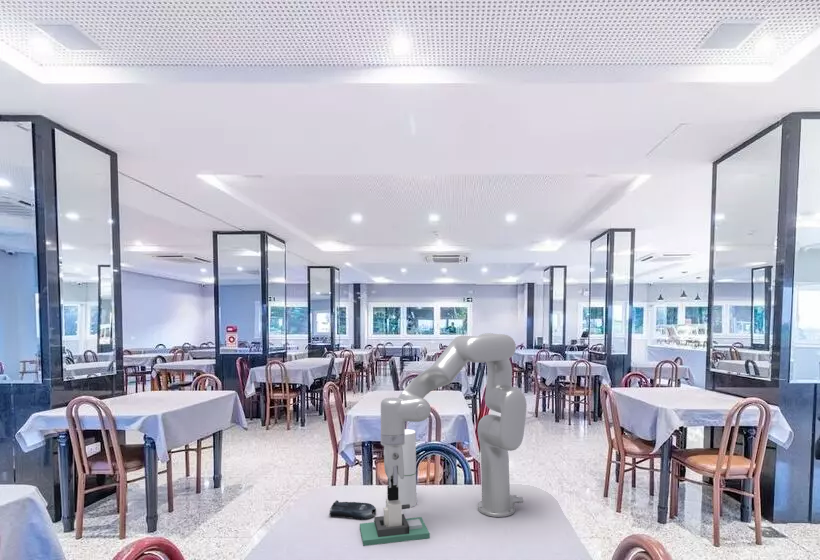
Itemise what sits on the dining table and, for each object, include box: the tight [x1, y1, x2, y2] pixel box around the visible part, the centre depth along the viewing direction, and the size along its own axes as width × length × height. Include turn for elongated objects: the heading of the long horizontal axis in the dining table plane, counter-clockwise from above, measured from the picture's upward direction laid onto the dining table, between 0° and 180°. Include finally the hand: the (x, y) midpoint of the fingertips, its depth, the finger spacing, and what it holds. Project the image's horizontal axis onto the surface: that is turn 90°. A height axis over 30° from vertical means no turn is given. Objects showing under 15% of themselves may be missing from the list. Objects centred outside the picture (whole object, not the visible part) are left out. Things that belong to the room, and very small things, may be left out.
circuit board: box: [359, 513, 431, 547], centre depth 139 cm, size 20×11×4 cm, turn 102°
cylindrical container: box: [398, 428, 417, 508], centre depth 161 cm, size 7×7×25 cm
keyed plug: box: [383, 498, 411, 527], centre depth 140 cm, size 8×5×8 cm, turn 103°
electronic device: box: [328, 499, 377, 521], centre depth 153 cm, size 9×6×15 cm
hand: (392, 499), depth 140 cm, fingers closed
